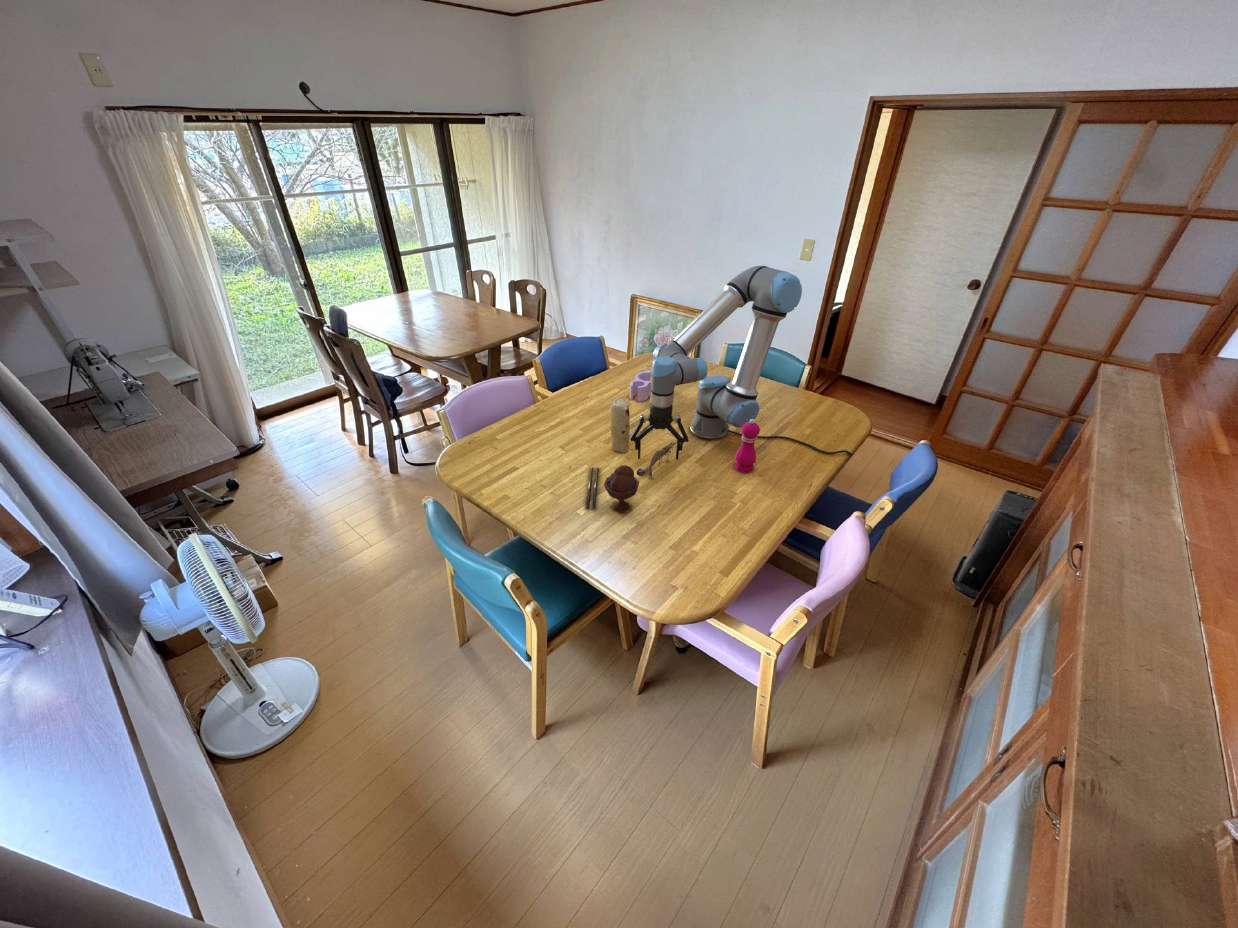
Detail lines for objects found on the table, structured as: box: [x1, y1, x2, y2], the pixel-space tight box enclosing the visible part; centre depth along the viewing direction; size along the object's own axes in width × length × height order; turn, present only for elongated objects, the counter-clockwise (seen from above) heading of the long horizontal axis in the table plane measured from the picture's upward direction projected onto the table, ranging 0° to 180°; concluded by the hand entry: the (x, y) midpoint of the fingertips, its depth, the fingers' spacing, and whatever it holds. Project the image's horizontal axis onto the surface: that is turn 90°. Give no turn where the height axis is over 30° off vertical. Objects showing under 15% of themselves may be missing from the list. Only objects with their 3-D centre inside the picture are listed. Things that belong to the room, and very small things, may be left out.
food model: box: [610, 397, 631, 453], centre depth 180 cm, size 10×7×20 cm
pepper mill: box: [734, 419, 761, 474], centre depth 168 cm, size 7×7×20 cm
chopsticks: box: [585, 467, 599, 510], centre depth 164 cm, size 3×23×1 cm, turn 179°
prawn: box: [636, 440, 677, 478], centre depth 173 cm, size 25×12×7 cm, turn 144°
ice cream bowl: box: [603, 464, 640, 513], centre depth 151 cm, size 11×11×15 cm
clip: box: [629, 369, 652, 402], centre depth 225 cm, size 20×12×7 cm, turn 148°
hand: (657, 457), depth 172 cm, fingers open, 13 cm apart
